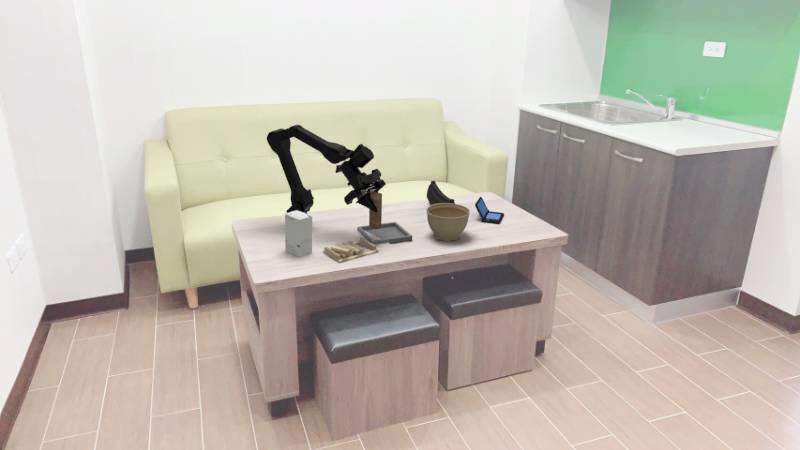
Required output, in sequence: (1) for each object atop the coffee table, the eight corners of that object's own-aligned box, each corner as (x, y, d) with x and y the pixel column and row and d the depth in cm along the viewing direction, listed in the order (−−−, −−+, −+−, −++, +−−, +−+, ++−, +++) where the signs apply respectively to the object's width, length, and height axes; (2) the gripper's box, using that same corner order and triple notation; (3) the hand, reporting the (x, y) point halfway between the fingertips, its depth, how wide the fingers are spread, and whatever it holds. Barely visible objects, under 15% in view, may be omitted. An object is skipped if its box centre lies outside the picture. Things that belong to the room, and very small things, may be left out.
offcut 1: (347, 255, 198) (347, 251, 198) (331, 250, 201) (330, 246, 201) (354, 251, 201) (354, 247, 201) (337, 247, 205) (337, 243, 204)
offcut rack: (339, 265, 196) (339, 257, 195) (323, 254, 204) (322, 246, 203) (378, 254, 205) (378, 246, 204) (361, 244, 213) (361, 236, 212)
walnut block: (378, 229, 209) (378, 194, 205) (369, 226, 211) (369, 192, 207) (381, 227, 211) (382, 193, 206) (372, 225, 213) (372, 191, 208)
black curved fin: (460, 206, 228) (437, 166, 251) (452, 207, 227) (430, 166, 250) (453, 240, 238) (432, 198, 261) (446, 241, 238) (425, 199, 260)
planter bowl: (416, 236, 221) (417, 209, 218) (443, 226, 233) (444, 200, 229) (450, 248, 211) (451, 220, 207) (476, 237, 222) (478, 210, 219)
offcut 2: (344, 259, 198) (344, 255, 198) (330, 254, 203) (330, 250, 202) (353, 256, 201) (353, 252, 201) (339, 250, 206) (339, 246, 205)
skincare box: (285, 253, 205) (282, 213, 199) (298, 248, 209) (296, 209, 204) (300, 260, 200) (299, 219, 194) (314, 254, 204) (312, 214, 199)
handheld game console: (499, 225, 236) (501, 207, 233) (473, 221, 239) (474, 204, 236) (504, 215, 247) (505, 198, 244) (479, 212, 250) (480, 195, 247)
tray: (372, 246, 212) (372, 241, 211) (357, 231, 225) (357, 226, 225) (412, 240, 218) (412, 235, 217) (395, 226, 231) (395, 221, 231)
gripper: (350, 168, 197) (376, 205, 196) (382, 157, 212) (406, 192, 211) (332, 186, 204) (358, 222, 203) (364, 174, 219) (388, 208, 217)
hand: (378, 210), depth 208 cm, fingers closed on walnut block, 2 cm apart
